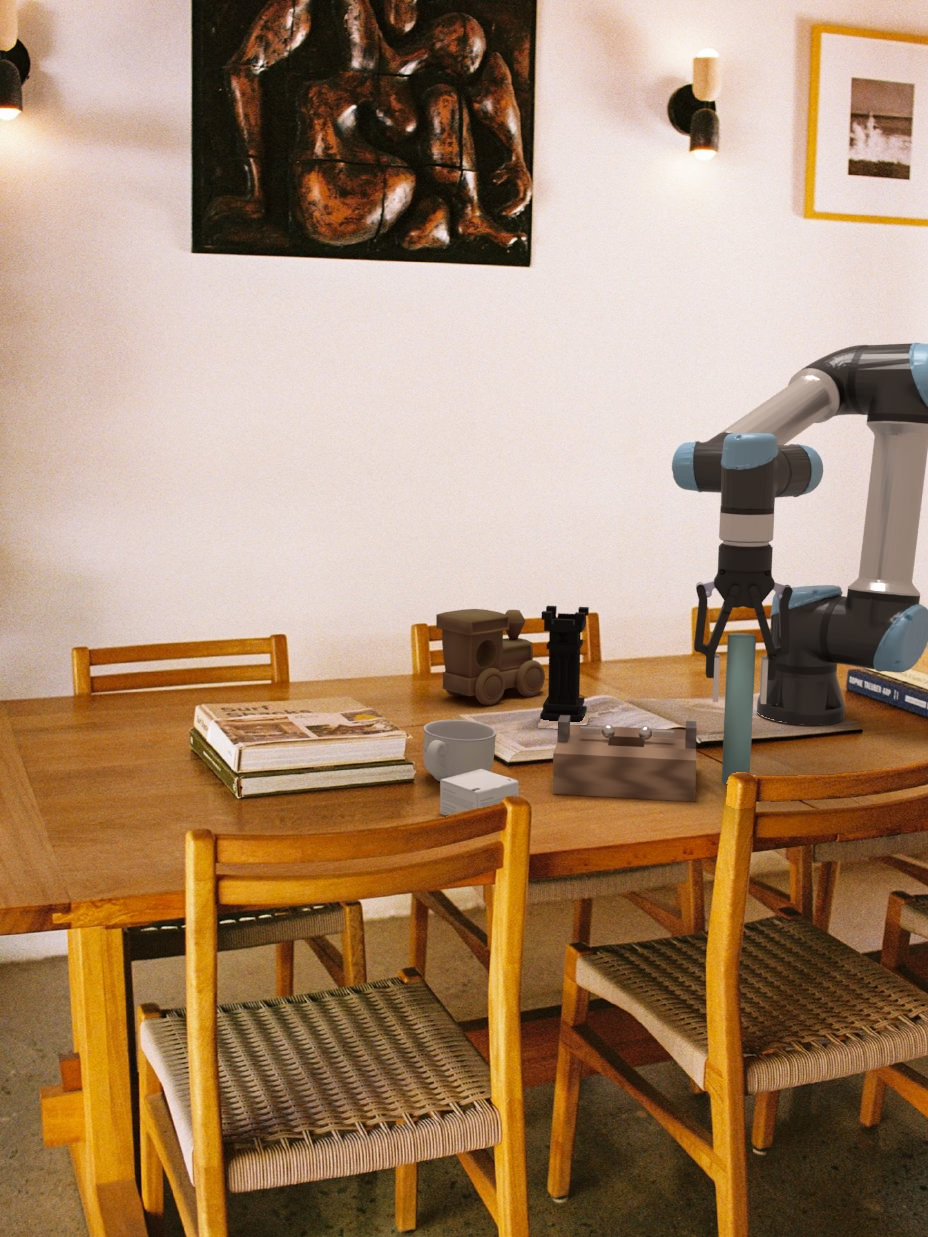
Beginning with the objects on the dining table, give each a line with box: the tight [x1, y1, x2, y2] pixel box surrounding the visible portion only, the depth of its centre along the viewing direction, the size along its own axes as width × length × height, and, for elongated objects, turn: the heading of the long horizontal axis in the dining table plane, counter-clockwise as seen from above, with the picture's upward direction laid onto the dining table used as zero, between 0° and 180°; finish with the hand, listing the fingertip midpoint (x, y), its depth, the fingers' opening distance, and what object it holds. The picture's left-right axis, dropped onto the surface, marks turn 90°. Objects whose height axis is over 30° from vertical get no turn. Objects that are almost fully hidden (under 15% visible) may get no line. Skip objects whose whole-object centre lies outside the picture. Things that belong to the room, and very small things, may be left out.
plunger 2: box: [638, 725, 674, 740], centre depth 183 cm, size 5×2×2 cm, turn 80°
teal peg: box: [721, 632, 757, 786], centre depth 182 cm, size 4×4×22 cm
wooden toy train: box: [435, 608, 546, 706], centre depth 235 cm, size 20×11×17 cm, turn 131°
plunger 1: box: [580, 724, 615, 738], centre depth 184 cm, size 5×2×2 cm, turn 80°
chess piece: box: [539, 605, 590, 722], centre depth 215 cm, size 8×8×20 cm
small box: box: [439, 769, 520, 816], centre depth 170 cm, size 8×8×5 cm
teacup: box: [422, 719, 498, 782], centre depth 184 cm, size 14×11×8 cm
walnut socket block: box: [552, 715, 698, 803], centre depth 184 cm, size 20×16×9 cm
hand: (739, 700), depth 182 cm, fingers open, 6 cm apart
